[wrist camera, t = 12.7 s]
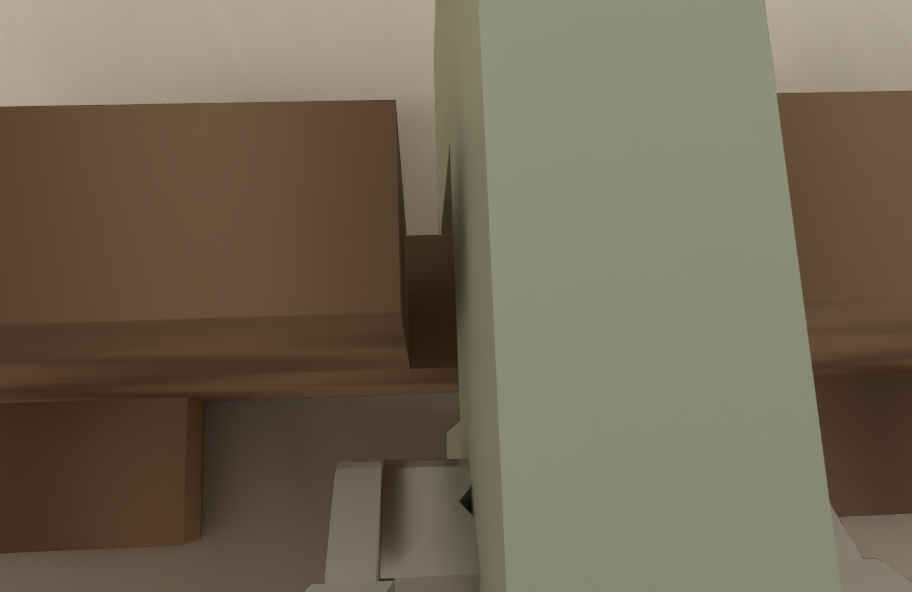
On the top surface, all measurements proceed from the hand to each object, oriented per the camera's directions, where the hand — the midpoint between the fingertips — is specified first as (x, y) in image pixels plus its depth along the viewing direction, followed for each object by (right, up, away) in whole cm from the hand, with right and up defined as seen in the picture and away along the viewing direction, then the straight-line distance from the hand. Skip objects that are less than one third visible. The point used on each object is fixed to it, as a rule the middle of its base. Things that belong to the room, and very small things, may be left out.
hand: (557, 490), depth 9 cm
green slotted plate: (0, +2, +6) cm, 6 cm away
